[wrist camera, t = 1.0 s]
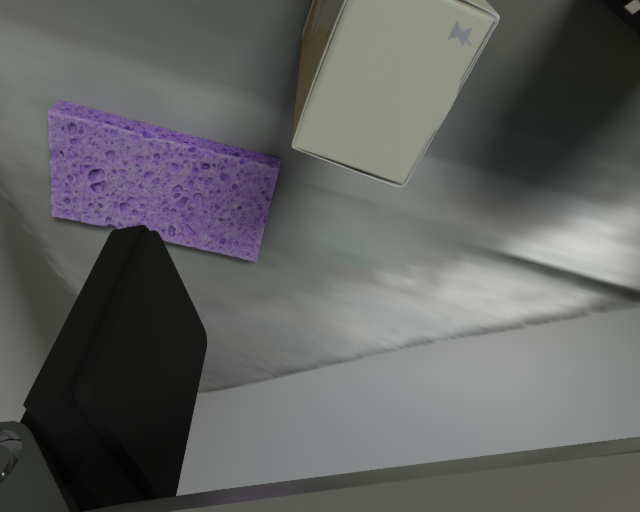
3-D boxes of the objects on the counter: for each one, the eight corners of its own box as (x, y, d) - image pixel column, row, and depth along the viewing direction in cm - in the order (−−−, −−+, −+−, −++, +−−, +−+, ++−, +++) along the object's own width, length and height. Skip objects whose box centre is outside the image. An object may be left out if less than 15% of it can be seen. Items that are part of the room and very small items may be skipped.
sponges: (60, 95, 30) (47, 109, 28) (285, 154, 32) (284, 170, 30) (61, 200, 34) (49, 217, 32) (259, 246, 36) (257, 264, 34)
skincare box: (348, -105, 24) (366, -62, 14) (437, -63, 24) (512, 4, 15) (297, 39, 27) (284, 152, 18) (376, 70, 28) (405, 194, 18)
